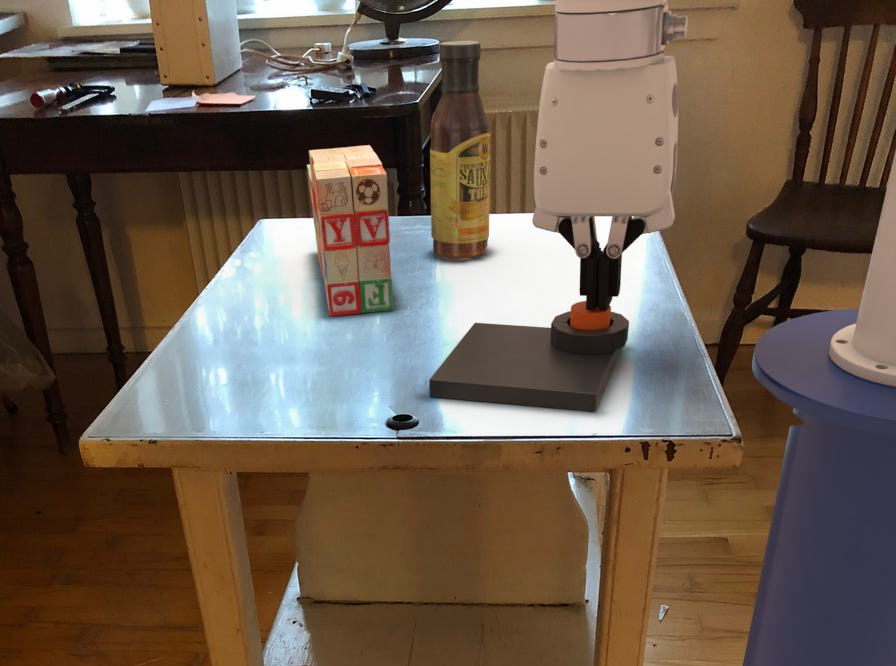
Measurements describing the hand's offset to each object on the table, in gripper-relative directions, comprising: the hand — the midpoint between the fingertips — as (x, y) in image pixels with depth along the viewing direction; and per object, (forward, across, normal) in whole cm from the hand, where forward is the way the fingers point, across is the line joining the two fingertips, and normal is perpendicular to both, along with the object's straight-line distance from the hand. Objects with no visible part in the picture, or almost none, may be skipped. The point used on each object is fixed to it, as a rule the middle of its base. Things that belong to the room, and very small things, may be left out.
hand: (599, 304), depth 78 cm
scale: (+4, +5, +4) cm, 8 cm away
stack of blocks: (+4, +28, -16) cm, 33 cm away
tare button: (+2, +1, 0) cm, 2 cm away
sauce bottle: (+4, +20, -27) cm, 34 cm away
